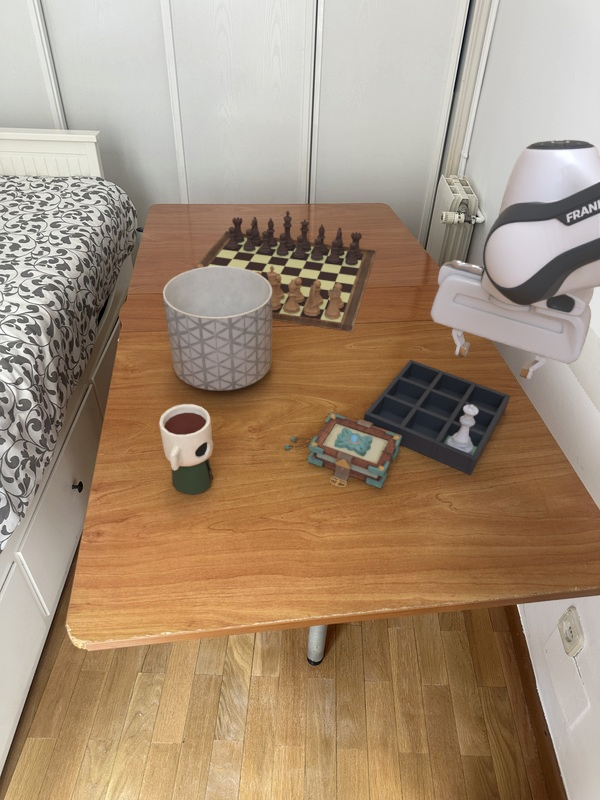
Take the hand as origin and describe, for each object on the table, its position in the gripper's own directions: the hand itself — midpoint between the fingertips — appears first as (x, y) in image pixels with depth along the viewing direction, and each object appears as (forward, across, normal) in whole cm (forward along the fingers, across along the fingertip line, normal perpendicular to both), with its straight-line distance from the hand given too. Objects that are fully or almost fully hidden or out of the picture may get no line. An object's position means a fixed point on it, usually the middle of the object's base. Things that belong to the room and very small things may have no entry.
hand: (492, 365), depth 77 cm
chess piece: (+19, -1, +1) cm, 19 cm away
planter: (+19, -48, -4) cm, 51 cm away
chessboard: (+18, -63, +38) cm, 76 cm away
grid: (+19, -8, +7) cm, 22 cm away
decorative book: (+19, -18, -11) cm, 28 cm away
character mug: (+19, -34, -29) cm, 48 cm away
